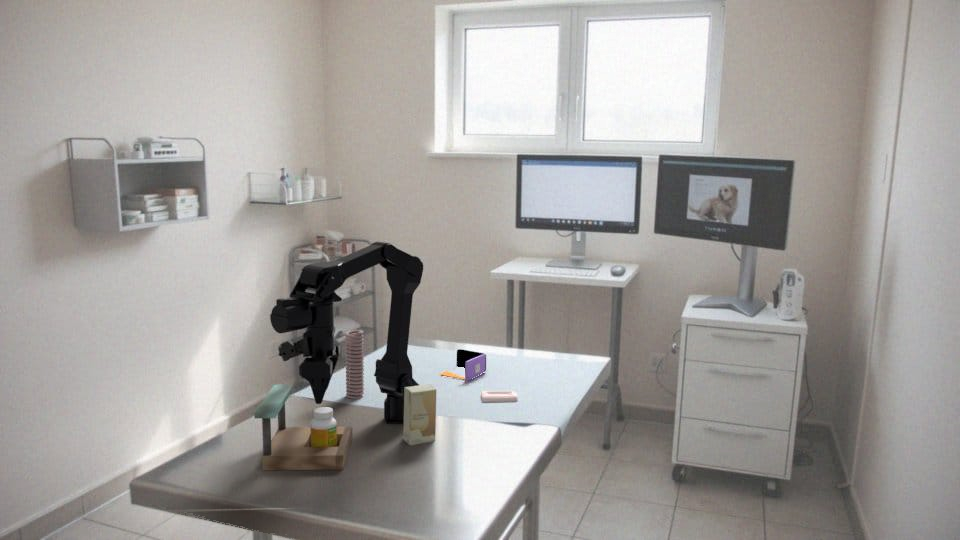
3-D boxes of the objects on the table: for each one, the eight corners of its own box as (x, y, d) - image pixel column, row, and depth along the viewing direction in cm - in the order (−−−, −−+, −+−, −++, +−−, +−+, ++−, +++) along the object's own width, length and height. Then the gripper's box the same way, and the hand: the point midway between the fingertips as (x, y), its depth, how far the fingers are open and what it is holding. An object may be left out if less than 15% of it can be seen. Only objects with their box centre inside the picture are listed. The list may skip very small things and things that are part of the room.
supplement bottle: (330, 460, 152) (330, 415, 150) (306, 457, 153) (305, 413, 151) (341, 450, 157) (340, 406, 156) (317, 447, 158) (316, 404, 157)
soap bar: (517, 405, 189) (518, 396, 188) (482, 406, 188) (482, 396, 187) (515, 398, 194) (515, 389, 194) (480, 399, 193) (481, 390, 193)
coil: (342, 398, 190) (341, 331, 188) (352, 393, 195) (351, 327, 192) (358, 401, 189) (357, 333, 186) (367, 396, 193) (366, 329, 190)
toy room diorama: (491, 376, 213) (491, 353, 212) (469, 386, 203) (469, 362, 202) (456, 369, 220) (457, 347, 219) (433, 379, 210) (433, 356, 209)
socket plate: (352, 437, 164) (352, 384, 162) (342, 471, 146) (341, 412, 144) (275, 438, 163) (274, 384, 161) (256, 472, 145) (254, 412, 143)
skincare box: (410, 446, 160) (410, 392, 158) (402, 439, 163) (402, 386, 162) (437, 441, 163) (437, 388, 161) (429, 435, 166) (429, 383, 164)
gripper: (288, 315, 162) (291, 383, 164) (271, 336, 143) (274, 412, 146) (339, 315, 163) (341, 382, 165) (329, 335, 144) (330, 411, 147)
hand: (321, 396), depth 156 cm, fingers open, 9 cm apart
